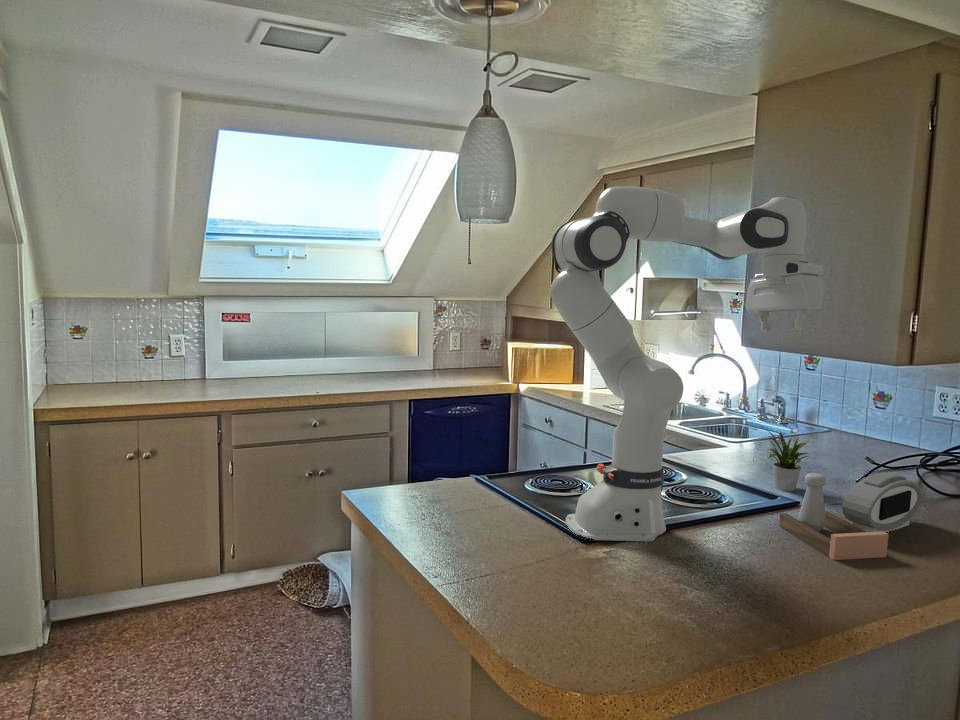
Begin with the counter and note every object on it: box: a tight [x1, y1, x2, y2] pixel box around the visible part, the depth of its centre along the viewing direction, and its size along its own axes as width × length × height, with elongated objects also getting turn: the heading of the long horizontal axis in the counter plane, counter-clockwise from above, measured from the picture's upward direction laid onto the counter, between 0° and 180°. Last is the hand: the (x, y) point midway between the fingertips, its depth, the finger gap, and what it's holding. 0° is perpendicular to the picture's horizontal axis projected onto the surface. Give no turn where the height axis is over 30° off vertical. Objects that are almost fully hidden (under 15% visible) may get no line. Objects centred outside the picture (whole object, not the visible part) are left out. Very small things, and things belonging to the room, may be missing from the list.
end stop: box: [828, 531, 889, 561], centre depth 153 cm, size 12×2×5 cm, turn 100°
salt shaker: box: [797, 472, 827, 533], centre depth 168 cm, size 6×6×13 cm
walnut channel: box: [778, 510, 866, 558], centre depth 163 cm, size 12×18×3 cm
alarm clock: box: [841, 472, 923, 533], centre depth 170 cm, size 23×6×13 cm, turn 123°
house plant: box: [762, 428, 816, 492], centre depth 199 cm, size 14×14×16 cm
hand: (781, 331), depth 168 cm, fingers open, 8 cm apart
